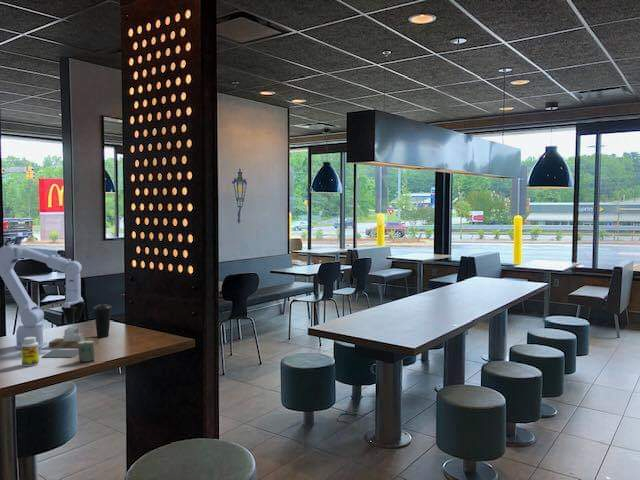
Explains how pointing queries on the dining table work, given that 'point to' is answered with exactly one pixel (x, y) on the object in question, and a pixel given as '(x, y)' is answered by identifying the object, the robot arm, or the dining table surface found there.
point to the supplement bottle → (30, 352)
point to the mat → (61, 354)
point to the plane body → (59, 342)
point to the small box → (86, 351)
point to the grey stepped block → (72, 335)
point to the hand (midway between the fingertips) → (73, 321)
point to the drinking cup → (102, 319)
